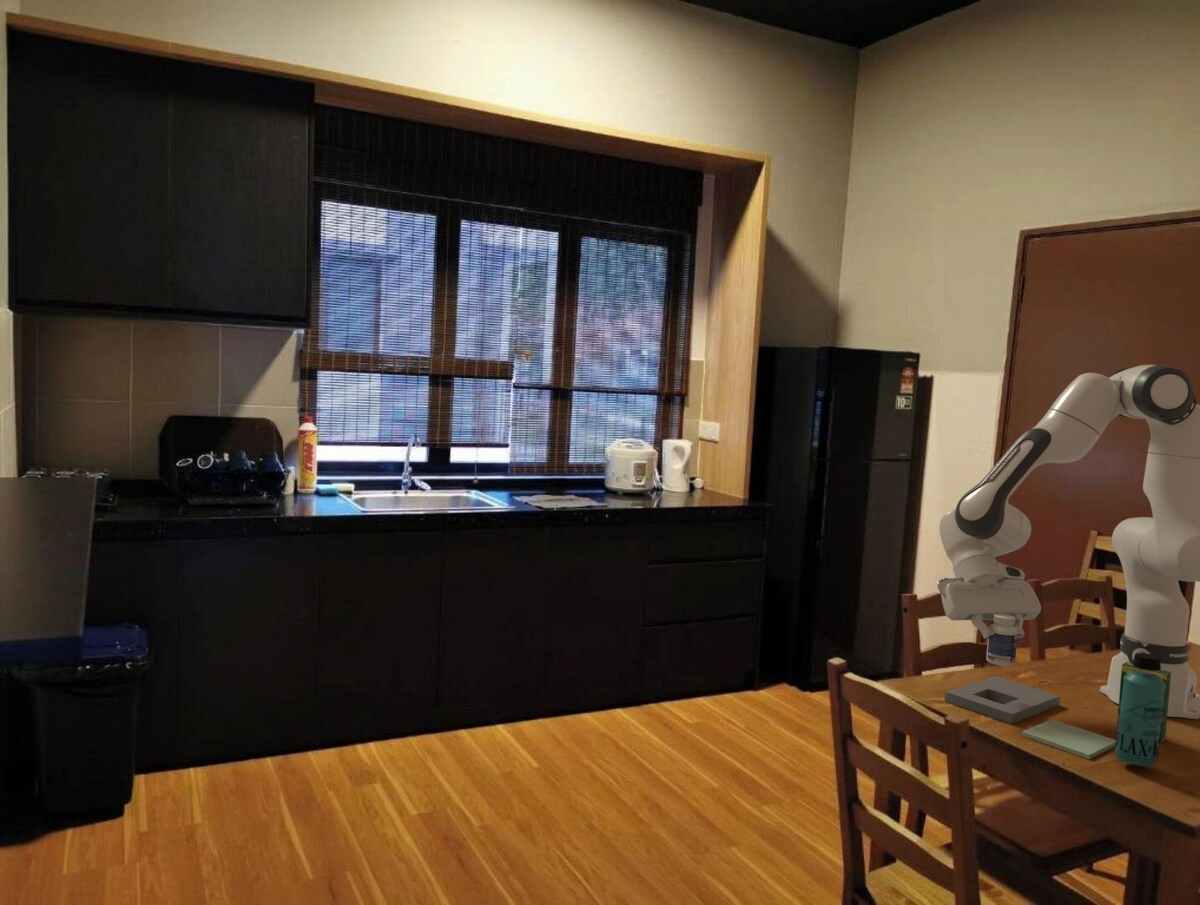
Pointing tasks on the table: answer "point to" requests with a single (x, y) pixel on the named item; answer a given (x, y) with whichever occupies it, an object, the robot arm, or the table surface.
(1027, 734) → the mat
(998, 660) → the pill bottle
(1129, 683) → the beverage bottle
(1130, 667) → the coffee box
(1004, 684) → the frame
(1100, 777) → the table surface
